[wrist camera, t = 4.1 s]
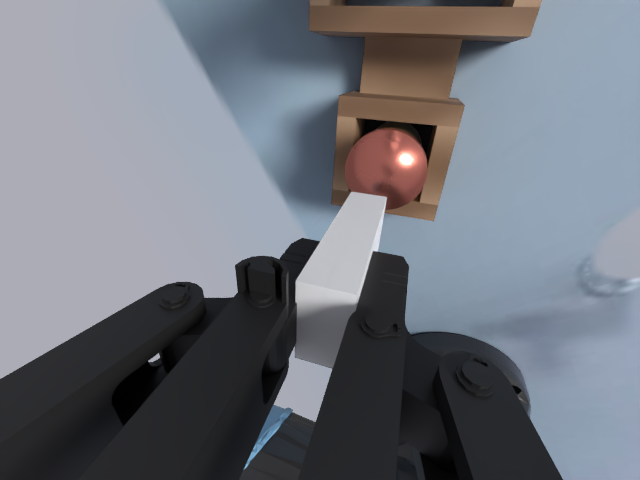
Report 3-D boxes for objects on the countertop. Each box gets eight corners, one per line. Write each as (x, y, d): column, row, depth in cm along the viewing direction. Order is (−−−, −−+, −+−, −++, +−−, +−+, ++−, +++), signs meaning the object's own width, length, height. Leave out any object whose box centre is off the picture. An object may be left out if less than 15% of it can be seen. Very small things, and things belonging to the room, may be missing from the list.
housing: (461, 202, 24) (468, 226, 20) (320, 181, 27) (303, 199, 23) (617, -299, 13) (697, -454, 9) (340, -246, 15) (312, -347, 12)
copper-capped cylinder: (419, 181, 24) (417, 215, 18) (360, 173, 25) (341, 203, 20) (434, 117, 21) (436, 134, 16) (367, 111, 23) (348, 125, 17)
